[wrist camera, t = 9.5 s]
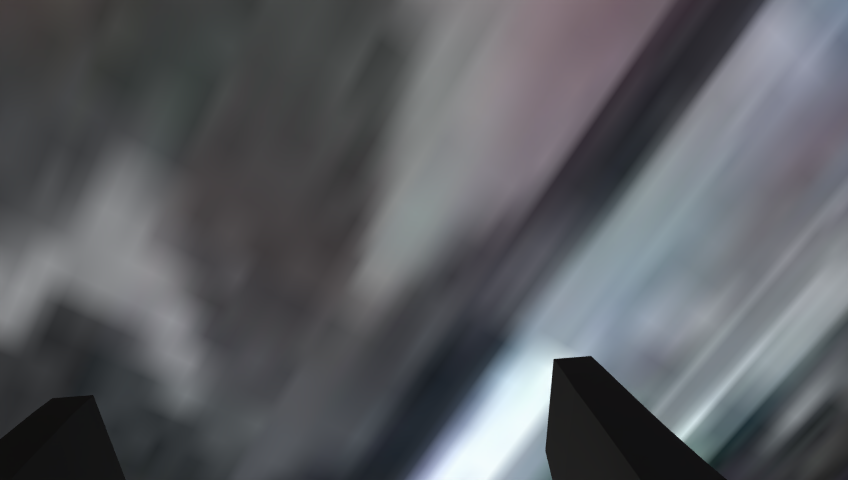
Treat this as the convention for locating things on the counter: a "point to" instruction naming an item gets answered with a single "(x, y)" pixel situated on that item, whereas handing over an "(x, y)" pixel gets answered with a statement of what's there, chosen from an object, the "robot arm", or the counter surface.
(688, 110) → the counter surface
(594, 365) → the robot arm
